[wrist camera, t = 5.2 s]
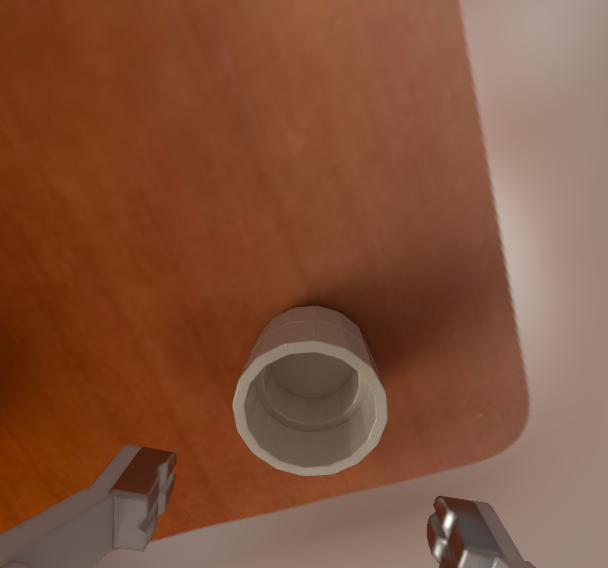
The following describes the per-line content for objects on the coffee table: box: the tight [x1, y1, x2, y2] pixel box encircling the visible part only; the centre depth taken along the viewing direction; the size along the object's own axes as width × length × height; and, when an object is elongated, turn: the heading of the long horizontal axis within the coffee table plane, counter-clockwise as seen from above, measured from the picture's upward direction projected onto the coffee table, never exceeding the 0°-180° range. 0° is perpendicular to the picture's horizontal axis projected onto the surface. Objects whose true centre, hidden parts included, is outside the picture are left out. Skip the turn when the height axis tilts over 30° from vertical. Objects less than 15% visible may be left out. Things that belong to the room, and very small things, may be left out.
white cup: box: [232, 306, 388, 476], centre depth 15 cm, size 6×6×5 cm
